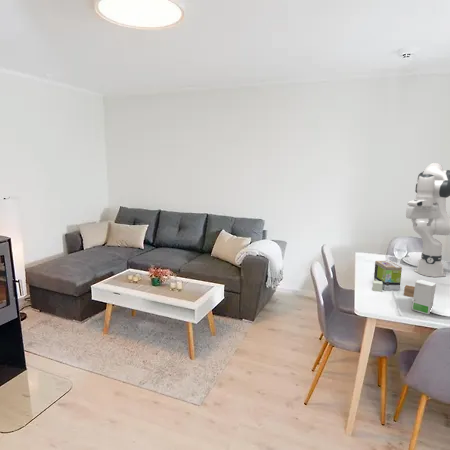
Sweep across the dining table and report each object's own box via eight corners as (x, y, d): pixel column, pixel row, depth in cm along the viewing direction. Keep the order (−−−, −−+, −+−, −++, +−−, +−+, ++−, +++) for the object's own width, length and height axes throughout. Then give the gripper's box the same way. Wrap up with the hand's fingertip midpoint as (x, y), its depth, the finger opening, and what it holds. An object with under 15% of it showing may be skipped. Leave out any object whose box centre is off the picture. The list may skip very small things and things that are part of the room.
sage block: (372, 288, 209) (373, 280, 208) (381, 289, 207) (382, 281, 207) (372, 290, 205) (373, 282, 204) (382, 291, 203) (382, 284, 202)
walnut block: (405, 293, 201) (405, 285, 200) (414, 294, 198) (415, 286, 197) (403, 295, 197) (404, 287, 196) (413, 297, 194) (414, 289, 193)
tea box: (400, 290, 205) (402, 267, 202) (383, 290, 205) (385, 267, 202) (388, 282, 220) (390, 260, 217) (373, 282, 220) (374, 260, 217)
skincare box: (411, 310, 177) (414, 281, 174) (415, 306, 182) (418, 278, 179) (429, 315, 171) (432, 285, 169) (433, 311, 176) (436, 282, 173)
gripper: (434, 202, 201) (432, 225, 203) (405, 202, 197) (403, 225, 199) (443, 203, 195) (441, 226, 197) (413, 203, 191) (411, 227, 193)
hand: (421, 226), depth 198 cm, fingers open, 8 cm apart
